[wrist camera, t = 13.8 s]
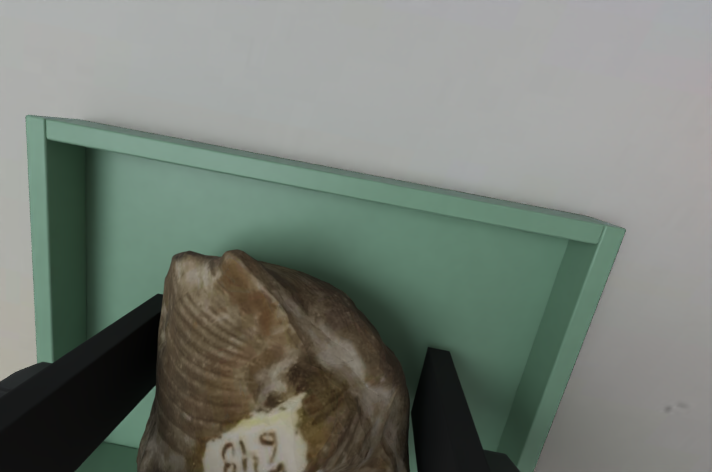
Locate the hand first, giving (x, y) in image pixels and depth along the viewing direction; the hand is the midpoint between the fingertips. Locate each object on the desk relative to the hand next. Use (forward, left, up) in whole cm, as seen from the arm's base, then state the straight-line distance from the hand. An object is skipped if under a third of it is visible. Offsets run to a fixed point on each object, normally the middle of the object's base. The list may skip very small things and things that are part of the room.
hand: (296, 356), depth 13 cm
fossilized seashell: (0, 0, 0) cm, 0 cm away
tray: (0, 0, -1) cm, 1 cm away
